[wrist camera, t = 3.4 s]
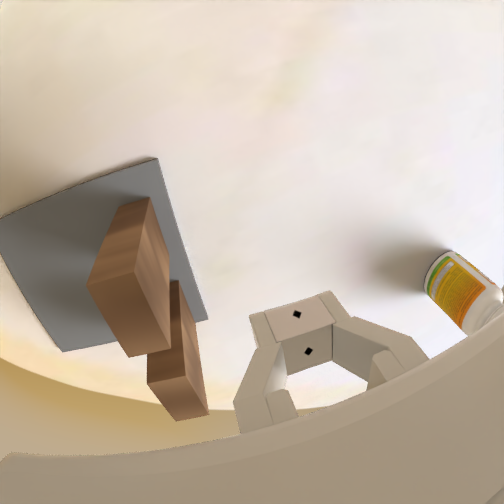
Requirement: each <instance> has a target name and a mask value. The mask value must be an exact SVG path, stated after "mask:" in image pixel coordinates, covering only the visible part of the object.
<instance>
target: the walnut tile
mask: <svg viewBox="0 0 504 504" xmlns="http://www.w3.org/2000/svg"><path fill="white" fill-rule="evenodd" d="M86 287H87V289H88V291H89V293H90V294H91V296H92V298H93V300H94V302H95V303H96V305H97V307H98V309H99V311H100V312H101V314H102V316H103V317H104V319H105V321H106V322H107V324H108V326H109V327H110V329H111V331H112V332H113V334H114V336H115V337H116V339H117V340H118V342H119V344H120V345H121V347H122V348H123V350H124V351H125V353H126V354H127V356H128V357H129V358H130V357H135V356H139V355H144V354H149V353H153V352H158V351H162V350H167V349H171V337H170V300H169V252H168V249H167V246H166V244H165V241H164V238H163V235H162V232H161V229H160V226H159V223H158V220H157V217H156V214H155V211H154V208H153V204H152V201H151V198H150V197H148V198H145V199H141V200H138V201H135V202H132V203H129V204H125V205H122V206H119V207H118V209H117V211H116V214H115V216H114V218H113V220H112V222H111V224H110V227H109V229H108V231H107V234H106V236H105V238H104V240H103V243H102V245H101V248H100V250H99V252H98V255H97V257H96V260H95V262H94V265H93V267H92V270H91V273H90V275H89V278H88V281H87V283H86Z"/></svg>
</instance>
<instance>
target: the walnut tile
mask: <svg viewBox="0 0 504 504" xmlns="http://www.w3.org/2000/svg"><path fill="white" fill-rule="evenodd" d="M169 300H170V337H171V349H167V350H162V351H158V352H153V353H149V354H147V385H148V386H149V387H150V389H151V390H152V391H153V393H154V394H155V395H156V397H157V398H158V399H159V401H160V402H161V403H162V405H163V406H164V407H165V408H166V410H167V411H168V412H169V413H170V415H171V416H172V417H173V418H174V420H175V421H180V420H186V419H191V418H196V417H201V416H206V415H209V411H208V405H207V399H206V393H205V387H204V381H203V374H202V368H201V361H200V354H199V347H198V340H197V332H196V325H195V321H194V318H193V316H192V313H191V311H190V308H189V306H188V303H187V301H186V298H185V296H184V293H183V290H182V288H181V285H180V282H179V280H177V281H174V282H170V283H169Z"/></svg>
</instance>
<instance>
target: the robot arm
mask: <svg viewBox="0 0 504 504" xmlns="http://www.w3.org/2000/svg"><path fill="white" fill-rule="evenodd" d="M249 319H250V323H251V327H252V331H253V335H254V339H255V342H256V346H257V349H256V350H255V352H254V355H253V357H252V359H251V362H250V364H249V366H248V369H247V371H246V373H245V375H244V378H243V380H242V382H241V385H240V387H239V389H238V391H237V394H236V396H235V398H234V400H233V404H234V408H235V413H236V417H237V421H238V425H239V429H240V433H241V434H239V435H235V436H231V437H226V438H222V439H217V440H213V441H207V442H202V443H197V444H191V445H186V446H180V447H173V448H166V449H160V450H151V451H144V452H133V453H121V454H106V455H41V454H28V453H17V452H14V453H9V454H8V455H7V456H6V457H5V458H3V460H2V461H1V462H0V504H504V312H503V313H501V314H500V315H499V316H497V317H496V318H495V319H493V320H492V321H490V322H489V323H487V324H486V325H485V326H483V327H482V328H480V329H479V330H477V331H476V332H474V333H473V334H471V335H470V336H468V337H466V338H465V339H463V340H462V341H460V342H459V343H457V344H455V345H454V346H452V347H450V348H449V349H447V350H445V351H444V352H442V353H440V354H438V355H437V356H435V357H433V358H431V359H429V358H428V357H427V356H426V354H425V353H424V352H423V351H422V349H421V348H420V347H419V346H418V345H417V343H416V342H415V341H414V340H413V339H412V337H410V336H407V335H405V334H402V333H399V332H396V331H393V330H391V329H388V328H385V327H382V326H380V325H377V324H374V323H372V322H369V321H366V320H363V319H361V318H358V317H355V316H354V317H350V315H349V314H348V313H347V311H346V310H345V309H344V307H343V306H342V305H341V303H340V302H339V301H338V299H337V298H336V297H335V295H334V294H333V293H332V292H331V291H326V292H323V293H320V294H317V295H315V296H312V297H309V298H306V299H303V300H300V301H297V302H293V303H290V304H287V305H283V306H280V307H276V308H272V309H269V310H265V311H262V312H259V313H255V314H251V315H249ZM331 360H332V361H333V362H335V363H336V364H338V365H340V366H341V367H343V368H345V369H346V370H348V371H350V372H352V373H353V374H355V375H357V376H358V377H360V378H362V379H364V380H365V381H367V382H368V385H367V390H366V391H365V392H363V393H361V394H358V395H356V396H354V397H351V398H349V399H346V400H344V401H341V402H339V403H336V404H334V405H331V406H329V407H326V408H323V409H321V410H318V411H315V412H312V413H309V414H307V415H303V416H301V417H299V416H298V413H297V411H296V409H295V406H294V404H293V401H292V399H291V397H290V394H289V392H288V390H284V389H285V385H286V381H287V376H288V375H291V374H294V373H297V372H299V371H302V370H305V369H308V368H310V367H313V366H317V365H320V364H323V363H326V362H329V361H331Z"/></svg>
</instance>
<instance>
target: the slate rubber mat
mask: <svg viewBox="0 0 504 504" xmlns="http://www.w3.org/2000/svg"><path fill="white" fill-rule="evenodd" d="M148 197H150V198H151V201H152V204H153V208H154V211H155V214H156V217H157V220H158V223H159V226H160V229H161V232H162V235H163V238H164V241H165V244H166V246H167V249H168V252H169V283H170V282H174V281H177V280H179V282H180V285H181V288H182V290H183V293H184V296H185V298H186V301H187V303H188V306H189V308H190V311H191V313H192V316H193V318H194V321H195V323H196V322H200V321H204V320H208V316H207V313H206V310H205V307H204V305H203V302H202V299H201V296H200V293H199V290H198V287H197V284H196V282H195V279H194V276H193V273H192V270H191V267H190V264H189V261H188V258H187V255H186V251H185V248H184V245H183V242H182V239H181V236H180V233H179V229H178V226H177V223H176V220H175V216H174V213H173V210H172V206H171V203H170V200H169V196H168V193H167V189H166V186H165V182H164V179H163V175H162V172H161V168H160V164H159V161H158V158H157V159H154V160H150V161H147V162H144V163H140V164H137V165H134V166H131V167H128V168H125V169H122V170H119V171H116V172H113V173H110V174H107V175H104V176H101V177H98V178H96V179H93V180H90V181H87V182H85V183H82V184H79V185H77V186H74V187H72V188H69V189H66V190H64V191H61V192H59V193H56V194H54V195H52V196H49V197H47V198H44V199H42V200H40V201H37V202H35V203H33V204H31V205H28V206H26V207H24V208H22V209H20V210H17V211H15V212H13V213H11V214H9V215H7V216H5V217H3V218H1V219H0V253H1V255H2V257H3V259H4V261H5V263H6V265H7V267H8V269H9V270H10V272H11V274H12V276H13V278H14V279H15V281H16V283H17V285H18V286H19V288H20V290H21V292H22V293H23V295H24V297H25V298H26V300H27V302H28V303H29V305H30V306H31V308H32V309H33V311H34V313H35V314H36V316H37V317H38V319H39V320H40V322H41V323H42V325H43V326H44V328H45V329H46V330H47V332H48V333H49V335H50V336H51V338H52V339H53V340H54V342H55V343H56V344H57V346H58V347H59V348H60V350H61V351H62V352H67V351H72V350H77V349H83V348H88V347H92V346H97V345H102V344H107V343H112V342H116V341H118V340H117V339H116V337H115V336H114V334H113V332H112V331H111V329H110V327H109V326H108V324H107V322H106V321H105V319H104V317H103V316H102V314H101V312H100V311H99V309H98V307H97V305H96V303H95V302H94V300H93V298H92V296H91V294H90V293H89V291H88V289H87V287H86V283H87V281H88V278H89V275H90V273H91V270H92V267H93V265H94V262H95V260H96V257H97V255H98V252H99V250H100V248H101V245H102V243H103V240H104V238H105V236H106V234H107V231H108V229H109V227H110V224H111V222H112V220H113V218H114V216H115V214H116V211H117V209H118V207H119V206H122V205H125V204H129V203H132V202H135V201H138V200H141V199H145V198H148Z"/></svg>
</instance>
